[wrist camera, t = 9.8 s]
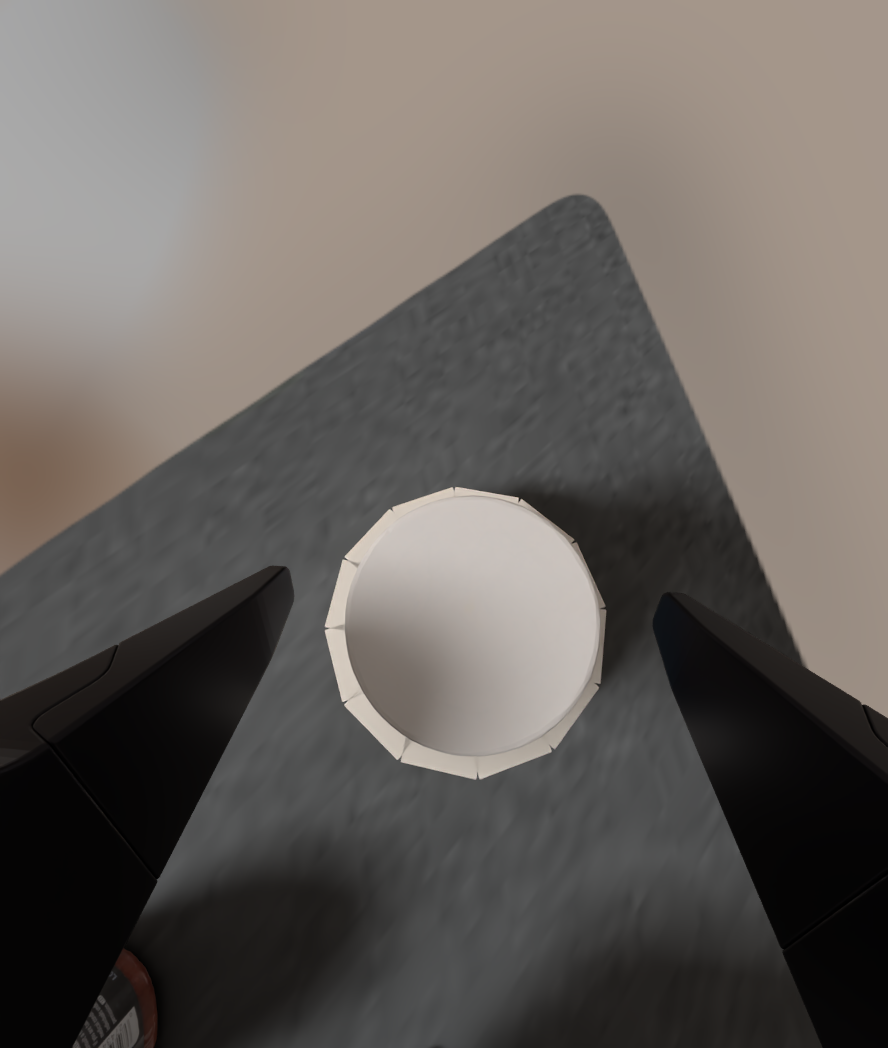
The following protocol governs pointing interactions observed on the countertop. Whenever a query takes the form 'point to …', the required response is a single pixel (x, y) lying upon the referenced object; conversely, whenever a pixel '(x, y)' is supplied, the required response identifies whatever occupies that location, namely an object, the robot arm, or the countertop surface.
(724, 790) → the robot arm
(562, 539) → the pill bottle
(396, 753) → the socket dock
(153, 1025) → the supplement bottle
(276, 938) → the countertop surface
